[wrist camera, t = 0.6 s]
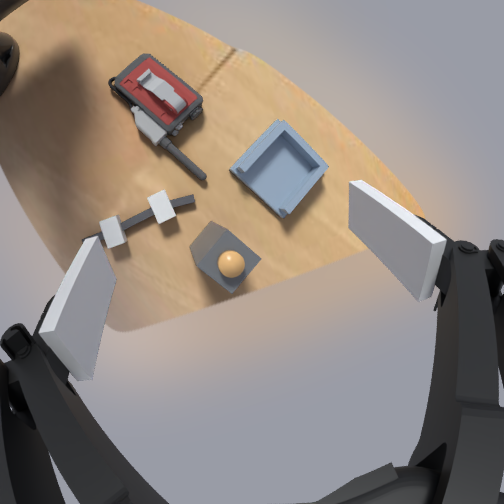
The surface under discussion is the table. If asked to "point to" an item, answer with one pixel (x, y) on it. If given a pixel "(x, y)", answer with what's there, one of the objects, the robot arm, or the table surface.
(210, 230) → the grey post with ball
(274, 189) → the tray
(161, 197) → the cable run
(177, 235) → the table surface
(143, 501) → the robot arm
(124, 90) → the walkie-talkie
